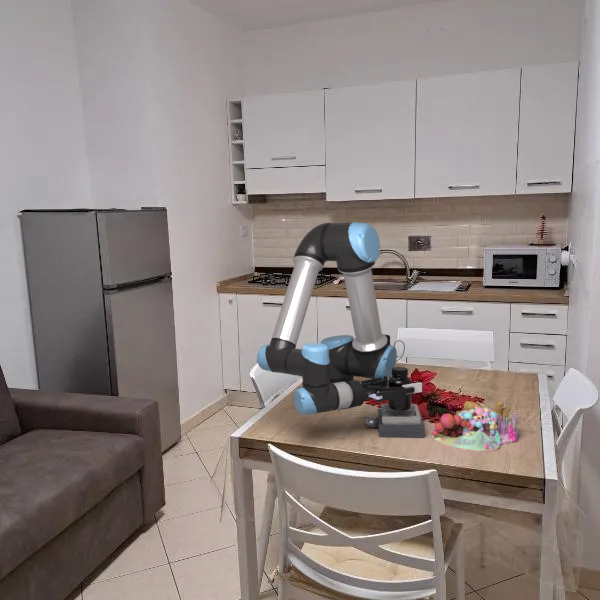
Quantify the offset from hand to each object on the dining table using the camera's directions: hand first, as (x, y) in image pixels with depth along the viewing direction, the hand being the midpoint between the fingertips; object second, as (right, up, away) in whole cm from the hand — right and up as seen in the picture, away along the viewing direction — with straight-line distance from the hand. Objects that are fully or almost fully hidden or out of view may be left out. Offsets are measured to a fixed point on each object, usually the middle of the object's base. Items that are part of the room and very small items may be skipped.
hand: (413, 383), depth 168 cm
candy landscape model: (+17, -15, -5) cm, 23 cm away
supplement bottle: (-4, -7, -1) cm, 8 cm away
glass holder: (+2, -5, +60) cm, 60 cm away
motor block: (-6, -14, 0) cm, 15 cm away
